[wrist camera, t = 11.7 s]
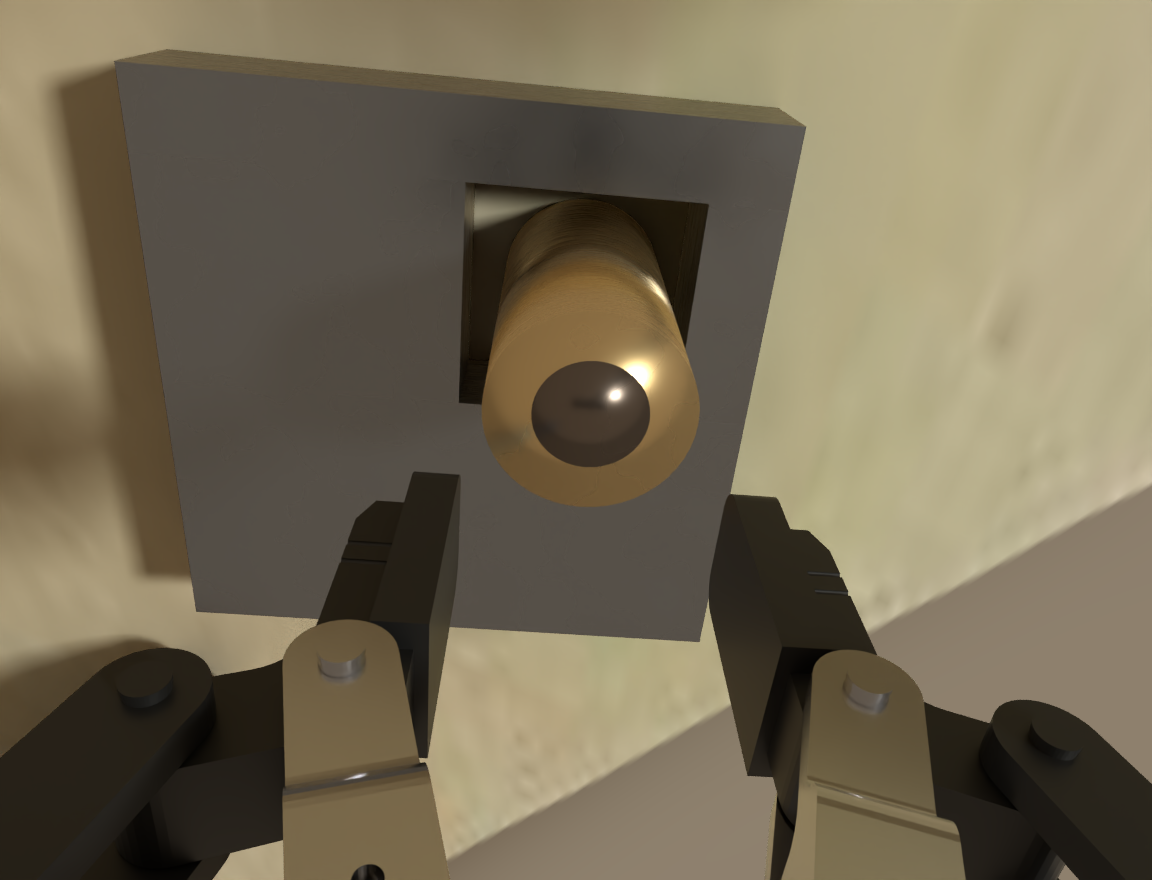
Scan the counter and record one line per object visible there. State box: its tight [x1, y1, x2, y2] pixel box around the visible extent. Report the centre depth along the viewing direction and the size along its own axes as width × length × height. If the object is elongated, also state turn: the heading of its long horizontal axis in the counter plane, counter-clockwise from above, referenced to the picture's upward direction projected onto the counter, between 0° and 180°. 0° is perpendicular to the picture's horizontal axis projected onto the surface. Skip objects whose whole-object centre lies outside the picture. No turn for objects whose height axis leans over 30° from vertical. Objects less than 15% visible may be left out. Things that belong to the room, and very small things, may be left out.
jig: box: [114, 49, 806, 642], centre depth 25 cm, size 16×16×3 cm
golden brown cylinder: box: [482, 199, 700, 507], centre depth 22 cm, size 4×4×9 cm
